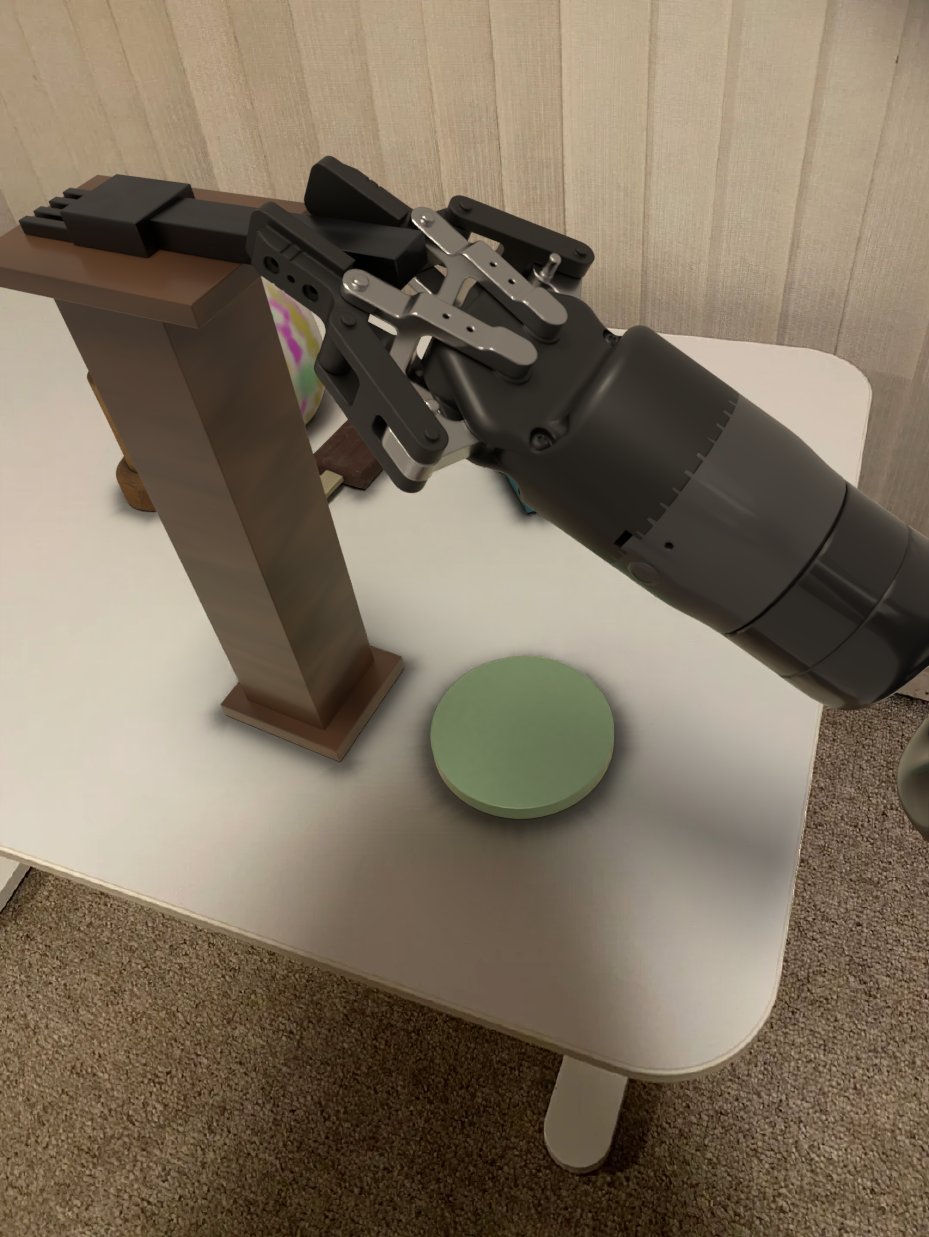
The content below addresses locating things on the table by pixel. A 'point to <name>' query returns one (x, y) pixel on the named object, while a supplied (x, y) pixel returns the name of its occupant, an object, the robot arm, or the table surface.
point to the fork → (207, 227)
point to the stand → (223, 468)
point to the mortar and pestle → (125, 466)
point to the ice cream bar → (346, 460)
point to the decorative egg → (298, 346)
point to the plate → (522, 737)
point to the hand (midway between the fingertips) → (285, 204)
